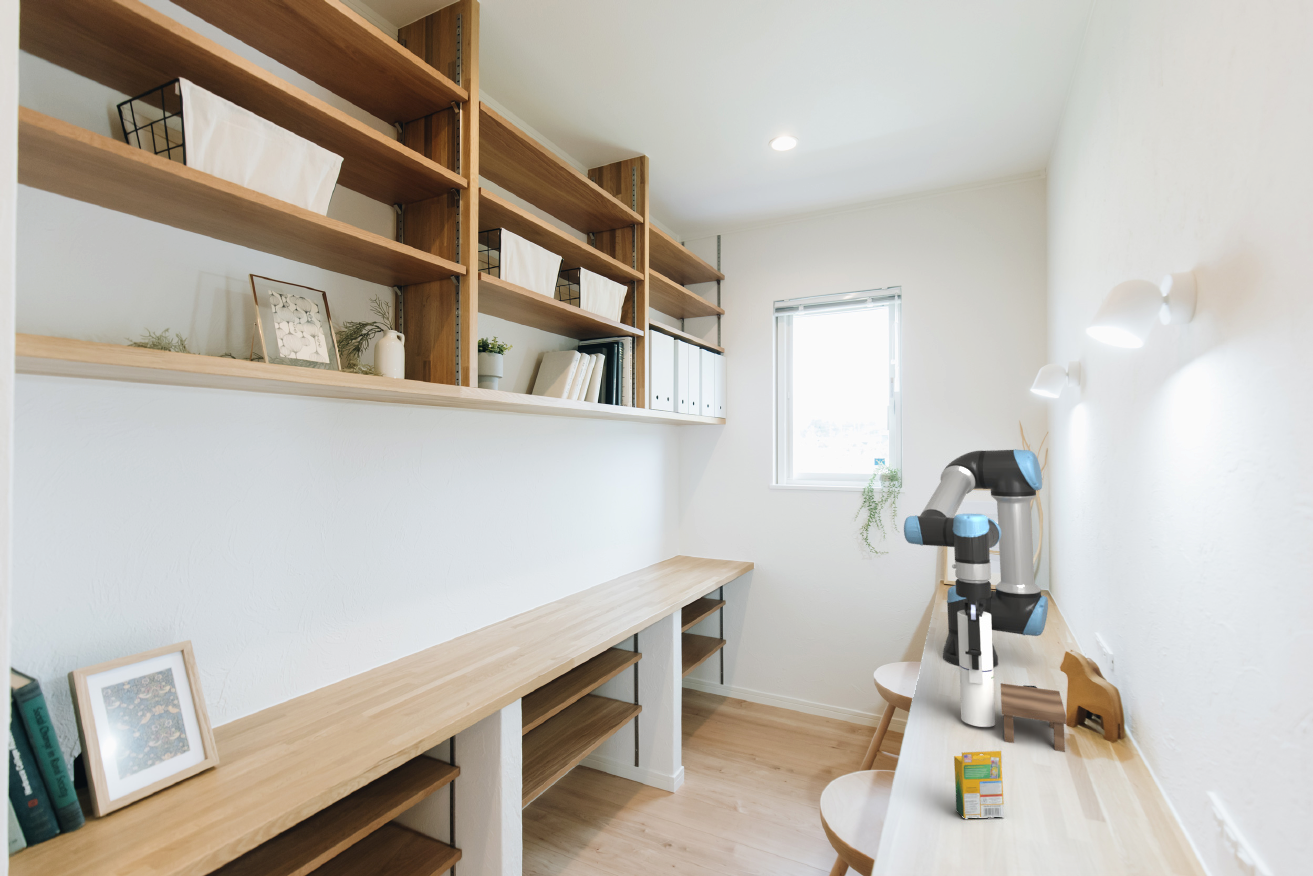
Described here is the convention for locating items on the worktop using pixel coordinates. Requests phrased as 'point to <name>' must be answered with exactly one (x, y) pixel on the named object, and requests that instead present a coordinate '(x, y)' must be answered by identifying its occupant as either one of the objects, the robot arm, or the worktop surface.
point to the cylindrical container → (981, 696)
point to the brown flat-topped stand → (1033, 710)
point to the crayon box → (979, 784)
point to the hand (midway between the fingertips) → (976, 677)
